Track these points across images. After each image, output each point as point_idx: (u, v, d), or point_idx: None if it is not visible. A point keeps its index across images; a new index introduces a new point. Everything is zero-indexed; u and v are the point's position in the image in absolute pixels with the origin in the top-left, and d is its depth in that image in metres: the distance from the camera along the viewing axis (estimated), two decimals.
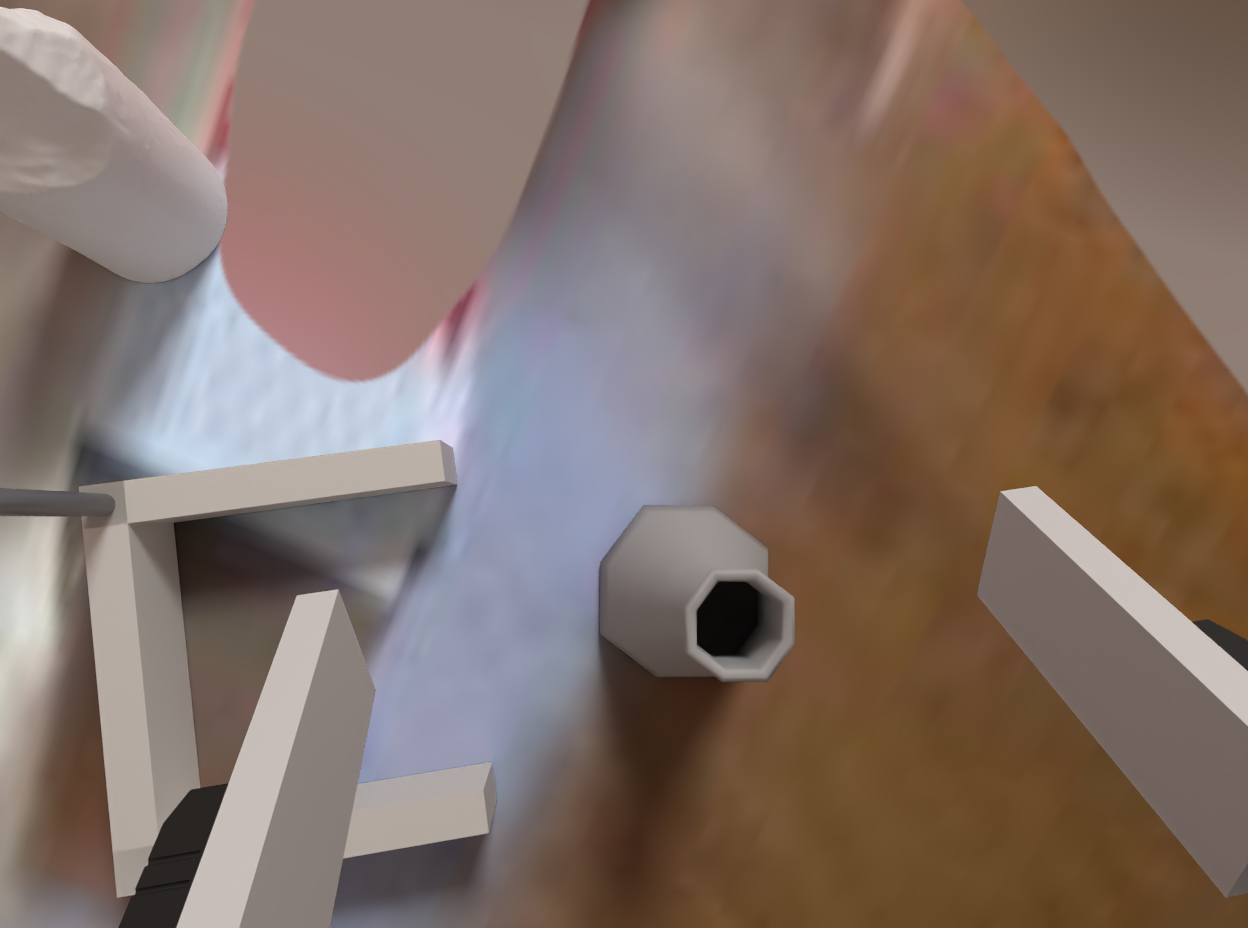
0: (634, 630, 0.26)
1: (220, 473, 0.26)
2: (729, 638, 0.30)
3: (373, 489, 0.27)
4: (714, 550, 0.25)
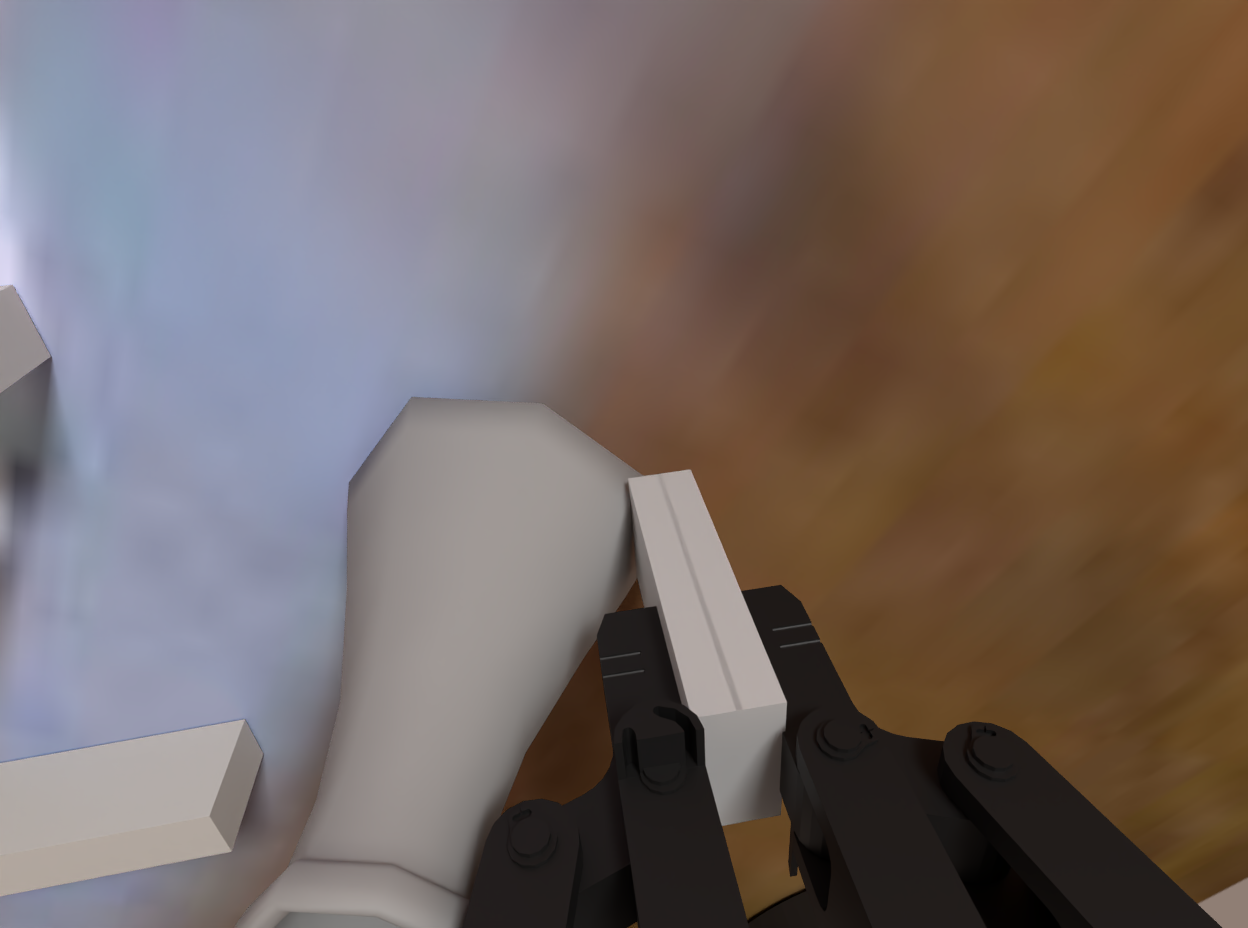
0: None
1: None
2: None
3: None
4: (452, 609, 0.13)
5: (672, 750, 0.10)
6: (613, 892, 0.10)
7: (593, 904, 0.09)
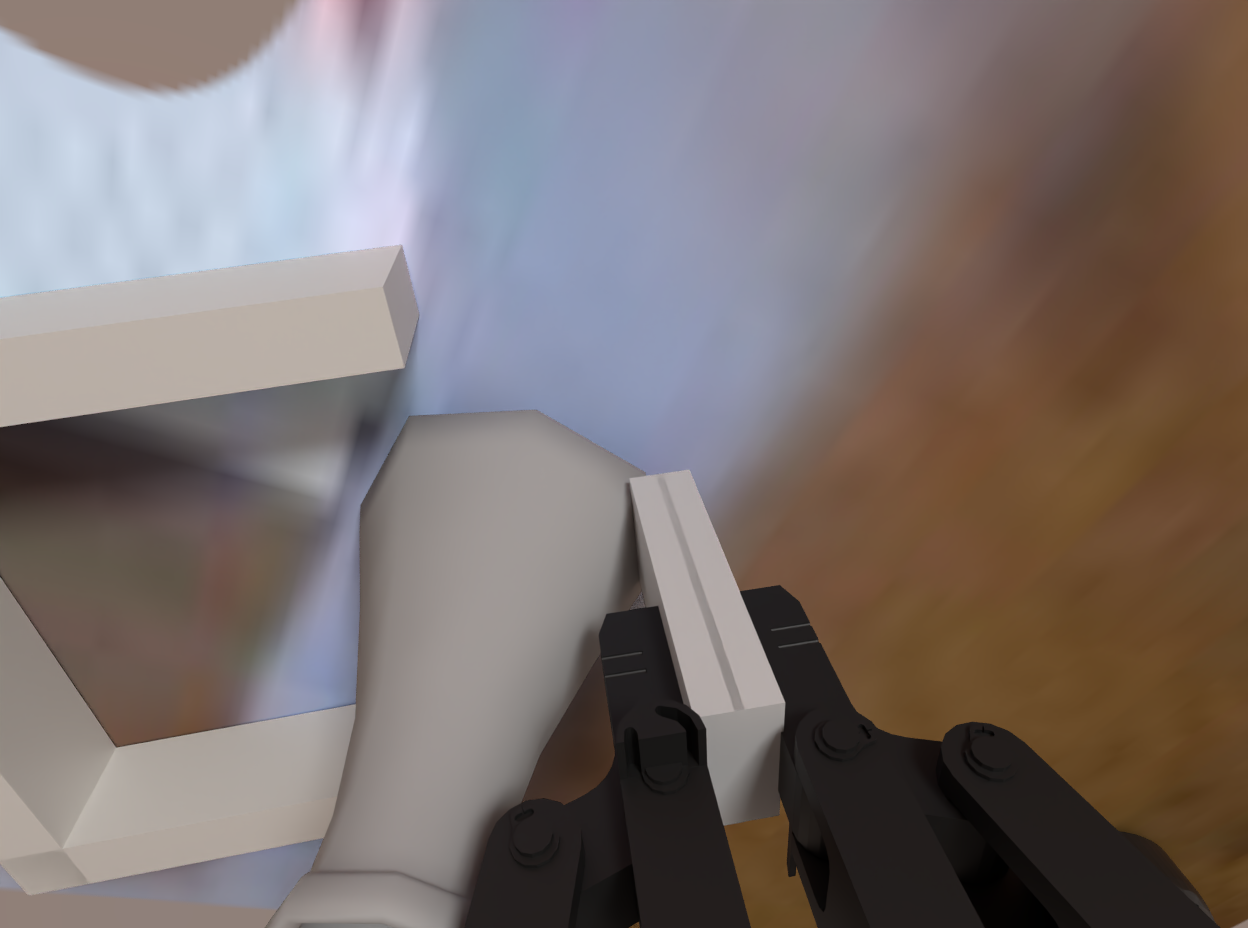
0: None
1: None
2: None
3: (259, 386, 0.13)
4: (454, 620, 0.13)
5: (674, 750, 0.10)
6: (614, 892, 0.10)
7: (595, 903, 0.09)
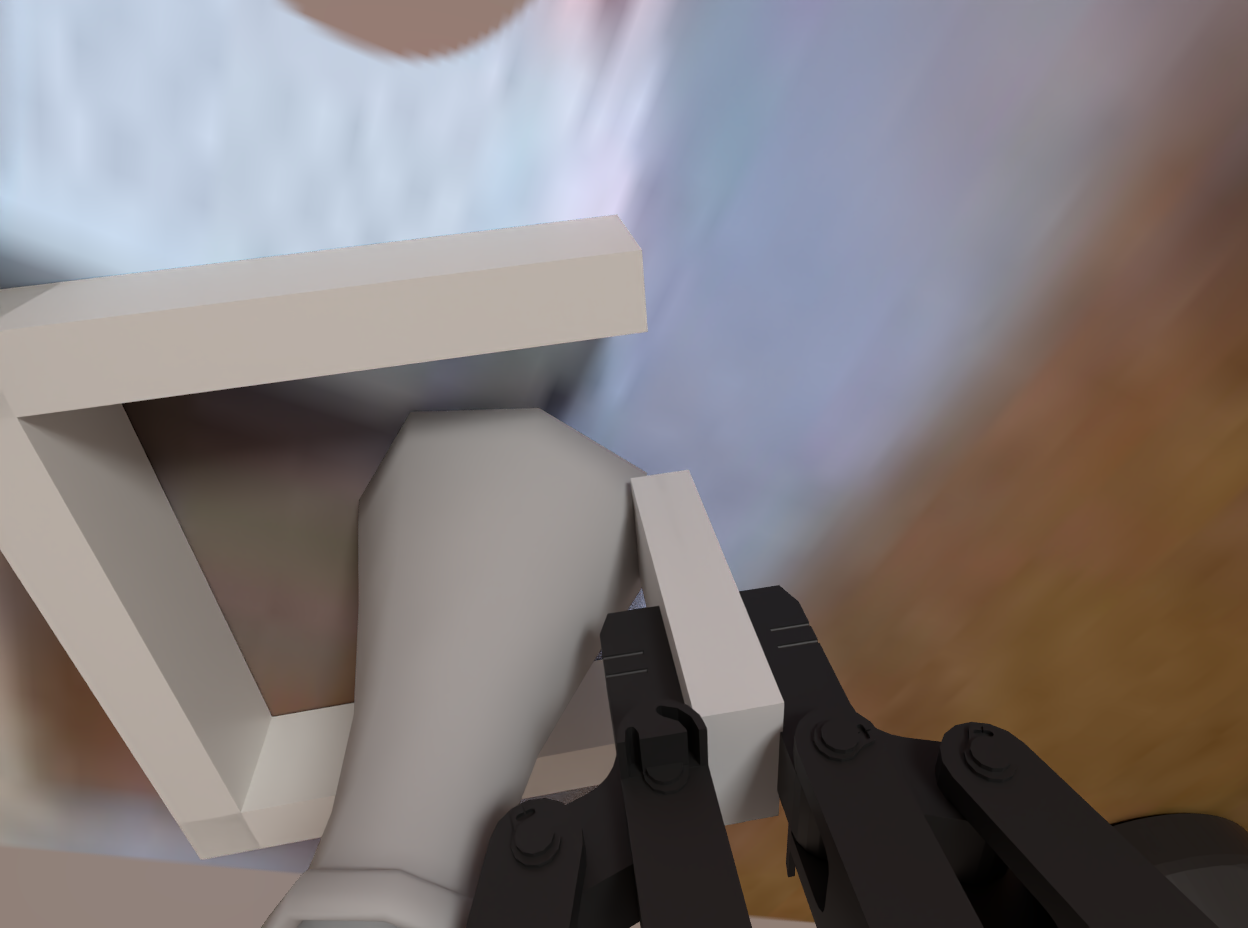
0: None
1: (185, 317, 0.12)
2: None
3: (509, 347, 0.13)
4: (455, 617, 0.13)
5: (675, 750, 0.10)
6: (616, 892, 0.10)
7: (596, 904, 0.09)
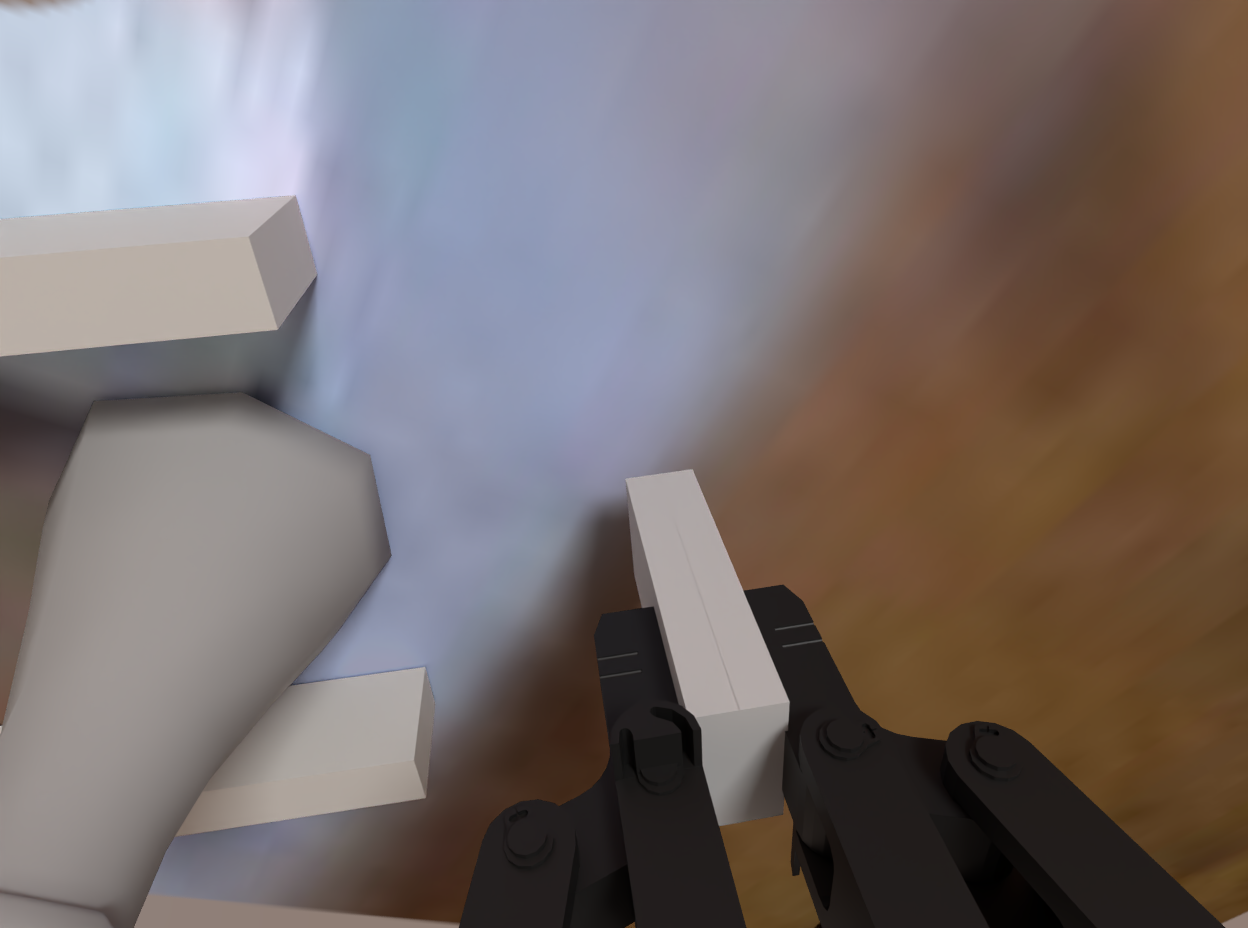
0: None
1: None
2: None
3: (112, 342, 0.12)
4: (117, 617, 0.12)
5: (670, 750, 0.10)
6: (610, 892, 0.10)
7: (588, 905, 0.09)
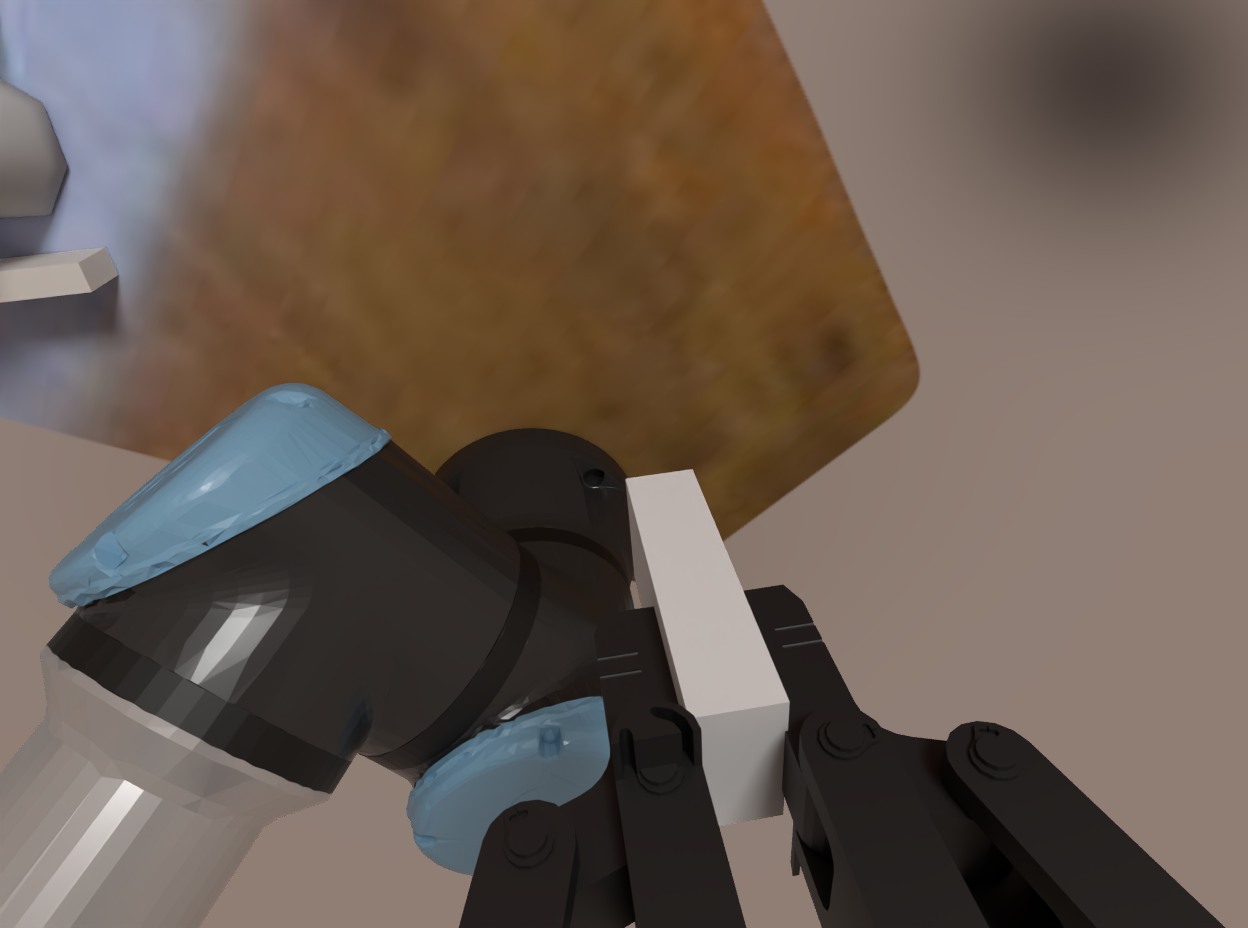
0: None
1: None
2: None
3: None
4: None
5: (669, 750, 0.10)
6: (609, 892, 0.10)
7: (589, 904, 0.09)
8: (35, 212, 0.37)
